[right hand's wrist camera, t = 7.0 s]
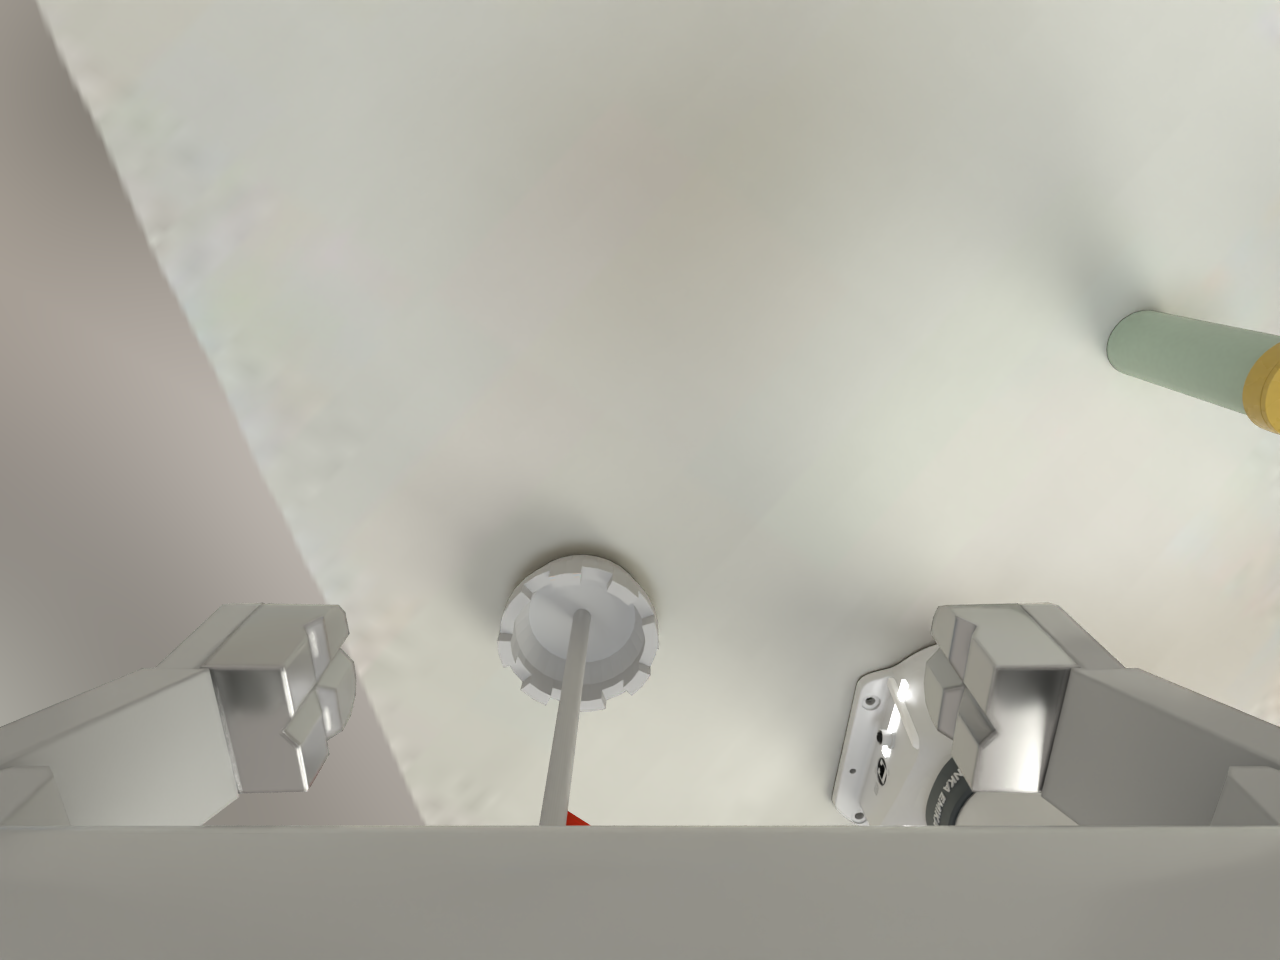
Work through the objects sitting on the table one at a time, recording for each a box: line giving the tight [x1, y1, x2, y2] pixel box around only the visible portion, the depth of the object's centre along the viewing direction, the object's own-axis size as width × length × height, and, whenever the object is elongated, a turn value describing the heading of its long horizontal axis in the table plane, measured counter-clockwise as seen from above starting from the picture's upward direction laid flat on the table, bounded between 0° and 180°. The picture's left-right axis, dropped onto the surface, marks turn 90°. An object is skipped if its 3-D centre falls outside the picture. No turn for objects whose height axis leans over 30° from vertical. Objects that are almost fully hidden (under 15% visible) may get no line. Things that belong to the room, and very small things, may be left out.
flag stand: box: [497, 555, 659, 826], centre depth 50 cm, size 13×13×30 cm
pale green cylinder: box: [1107, 311, 1280, 415], centre depth 49 cm, size 5×5×16 cm
